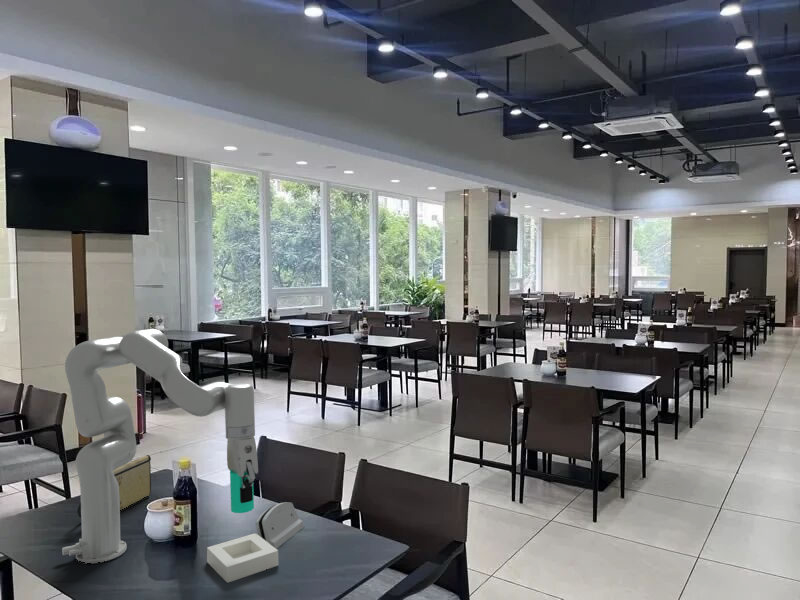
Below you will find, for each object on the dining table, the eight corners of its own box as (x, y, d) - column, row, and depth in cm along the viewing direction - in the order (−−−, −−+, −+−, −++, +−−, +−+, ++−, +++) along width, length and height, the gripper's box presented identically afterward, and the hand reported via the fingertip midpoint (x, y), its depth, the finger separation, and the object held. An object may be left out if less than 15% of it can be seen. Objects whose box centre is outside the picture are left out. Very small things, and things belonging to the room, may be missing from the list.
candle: (233, 505, 156) (232, 461, 155) (255, 503, 156) (254, 460, 156) (228, 513, 150) (227, 468, 149) (252, 512, 150) (250, 467, 150)
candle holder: (227, 582, 143) (227, 567, 143) (207, 562, 154) (206, 547, 154) (278, 565, 152) (278, 550, 152) (255, 546, 163) (255, 533, 163)
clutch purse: (138, 493, 207) (137, 452, 206) (154, 495, 205) (153, 453, 204) (71, 527, 178) (69, 479, 177) (89, 530, 176) (88, 481, 176)
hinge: (275, 549, 161) (264, 515, 162) (261, 553, 163) (251, 518, 164) (305, 526, 177) (295, 494, 178) (292, 529, 179) (282, 498, 179)
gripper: (267, 434, 148) (269, 504, 148) (240, 423, 161) (242, 487, 162) (239, 439, 143) (241, 511, 144) (214, 427, 157) (216, 493, 157)
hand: (242, 498), depth 153 cm, fingers closed on candle, 4 cm apart
